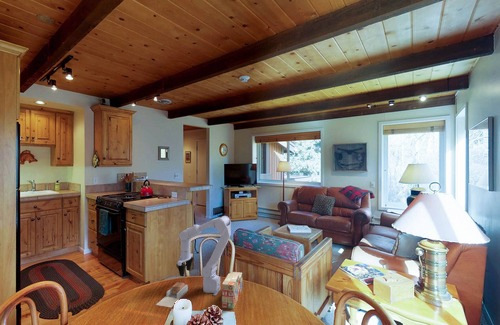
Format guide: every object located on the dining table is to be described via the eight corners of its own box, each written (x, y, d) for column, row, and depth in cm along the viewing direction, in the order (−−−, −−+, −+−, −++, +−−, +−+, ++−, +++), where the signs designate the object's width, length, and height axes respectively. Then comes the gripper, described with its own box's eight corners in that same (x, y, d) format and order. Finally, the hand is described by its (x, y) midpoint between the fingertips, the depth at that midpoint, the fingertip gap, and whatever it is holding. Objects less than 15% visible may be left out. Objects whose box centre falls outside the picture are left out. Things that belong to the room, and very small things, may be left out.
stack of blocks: (232, 287, 137) (232, 266, 137) (242, 288, 135) (242, 267, 136) (221, 308, 116) (221, 283, 116) (233, 309, 114) (233, 284, 115)
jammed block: (184, 290, 131) (184, 283, 131) (179, 294, 126) (179, 287, 126) (177, 289, 132) (177, 282, 132) (172, 293, 127) (172, 286, 127)
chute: (188, 291, 131) (189, 285, 132) (171, 309, 114) (171, 302, 114) (175, 289, 134) (175, 283, 134) (155, 306, 116) (155, 299, 116)
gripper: (185, 245, 145) (185, 267, 144) (173, 253, 131) (172, 277, 130) (195, 246, 143) (195, 268, 143) (184, 254, 129) (183, 279, 128)
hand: (185, 273), depth 136 cm, fingers open, 7 cm apart
